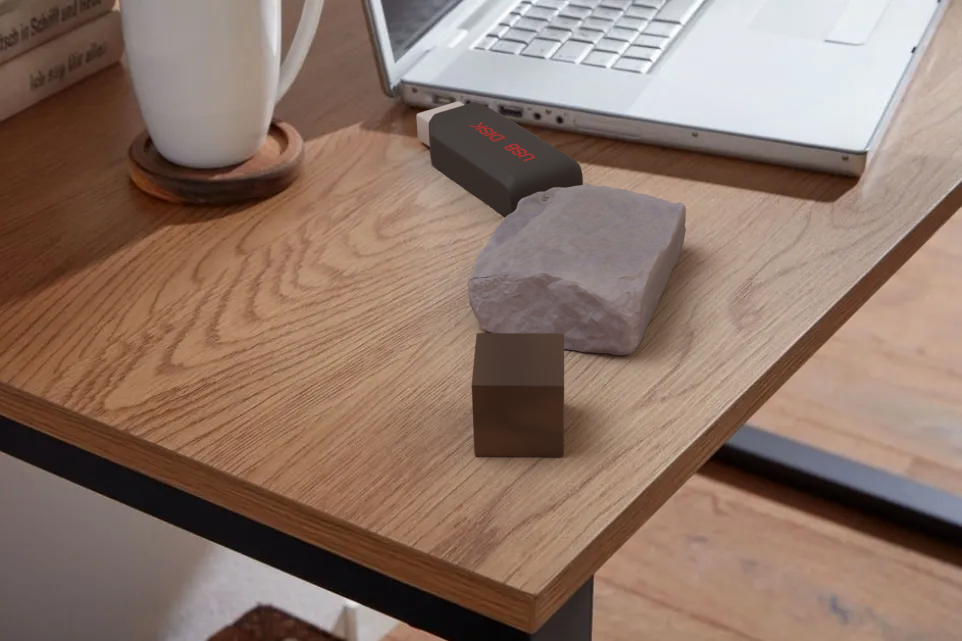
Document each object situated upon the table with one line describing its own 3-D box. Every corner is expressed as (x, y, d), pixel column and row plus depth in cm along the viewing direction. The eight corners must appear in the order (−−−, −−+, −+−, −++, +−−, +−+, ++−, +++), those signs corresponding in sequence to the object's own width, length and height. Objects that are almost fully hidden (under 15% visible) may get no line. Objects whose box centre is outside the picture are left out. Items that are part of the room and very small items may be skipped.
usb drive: (511, 221, 77) (510, 179, 76) (405, 146, 86) (402, 107, 84) (583, 195, 80) (584, 154, 78) (473, 125, 88) (471, 86, 87)
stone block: (462, 363, 69) (651, 363, 65) (441, 281, 66) (636, 276, 63) (531, 256, 78) (699, 250, 74) (515, 181, 76) (688, 171, 72)
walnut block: (563, 402, 63) (564, 332, 61) (563, 457, 60) (564, 385, 57) (479, 402, 63) (476, 332, 61) (474, 456, 60) (471, 384, 58)
